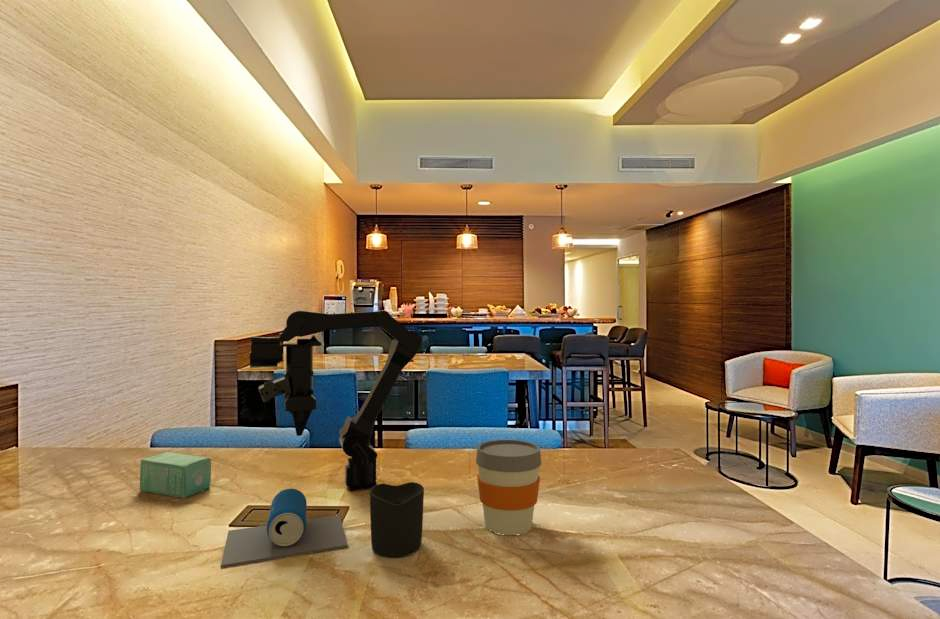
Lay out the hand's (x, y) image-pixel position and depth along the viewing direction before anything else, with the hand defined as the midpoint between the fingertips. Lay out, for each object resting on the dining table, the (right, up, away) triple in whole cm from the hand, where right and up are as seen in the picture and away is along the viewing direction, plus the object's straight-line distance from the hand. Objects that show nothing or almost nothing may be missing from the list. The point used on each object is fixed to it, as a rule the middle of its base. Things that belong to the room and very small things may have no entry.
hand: (299, 435), depth 113 cm
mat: (+6, -13, -23) cm, 27 cm away
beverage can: (+3, -9, -15) cm, 18 cm away
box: (-29, -13, +2) cm, 32 cm away
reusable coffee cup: (+46, -13, -17) cm, 51 cm away
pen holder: (+26, -13, -25) cm, 39 cm away
